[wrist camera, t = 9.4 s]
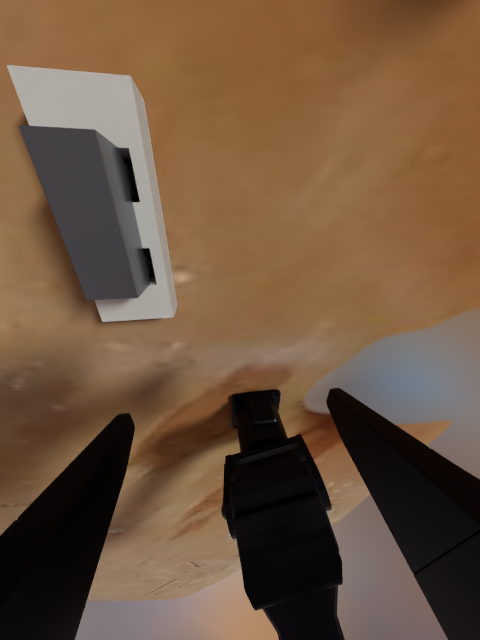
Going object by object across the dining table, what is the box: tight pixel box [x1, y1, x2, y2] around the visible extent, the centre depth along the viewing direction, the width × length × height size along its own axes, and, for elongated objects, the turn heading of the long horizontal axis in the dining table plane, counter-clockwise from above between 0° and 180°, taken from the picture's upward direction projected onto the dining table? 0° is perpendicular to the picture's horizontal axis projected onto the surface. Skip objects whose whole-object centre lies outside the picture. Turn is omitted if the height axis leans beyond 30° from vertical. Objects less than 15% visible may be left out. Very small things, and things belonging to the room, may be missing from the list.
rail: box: [7, 65, 178, 322], centre depth 14 cm, size 14×6×2 cm, turn 0°
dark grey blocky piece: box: [18, 125, 154, 300], centre depth 13 cm, size 8×3×5 cm, turn 0°
